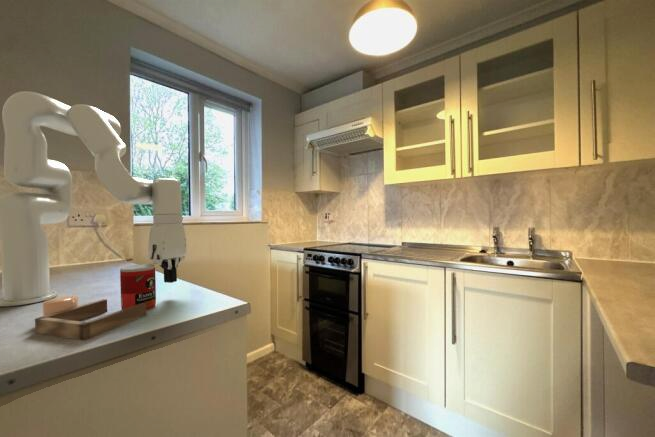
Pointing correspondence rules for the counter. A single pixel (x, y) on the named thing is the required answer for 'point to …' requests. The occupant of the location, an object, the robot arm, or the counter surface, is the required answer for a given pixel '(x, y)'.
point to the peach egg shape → (59, 304)
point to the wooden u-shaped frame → (71, 327)
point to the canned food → (138, 285)
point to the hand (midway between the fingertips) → (170, 281)
